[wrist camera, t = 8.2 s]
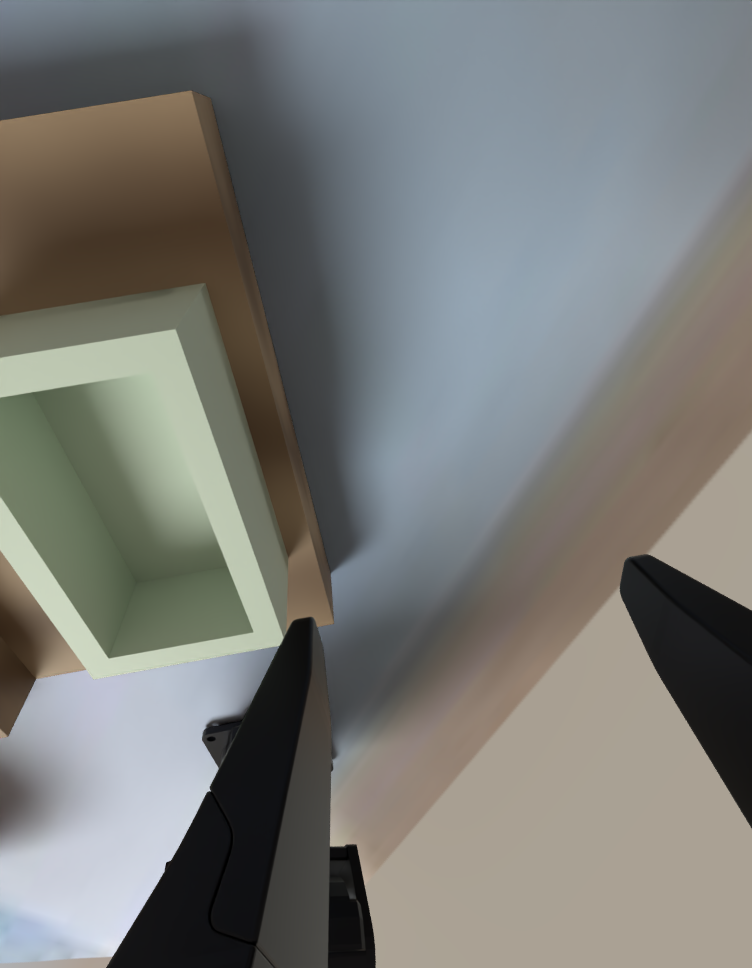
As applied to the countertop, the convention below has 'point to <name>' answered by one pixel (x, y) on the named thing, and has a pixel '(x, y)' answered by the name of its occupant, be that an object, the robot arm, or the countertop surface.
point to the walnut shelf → (132, 270)
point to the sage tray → (136, 483)
